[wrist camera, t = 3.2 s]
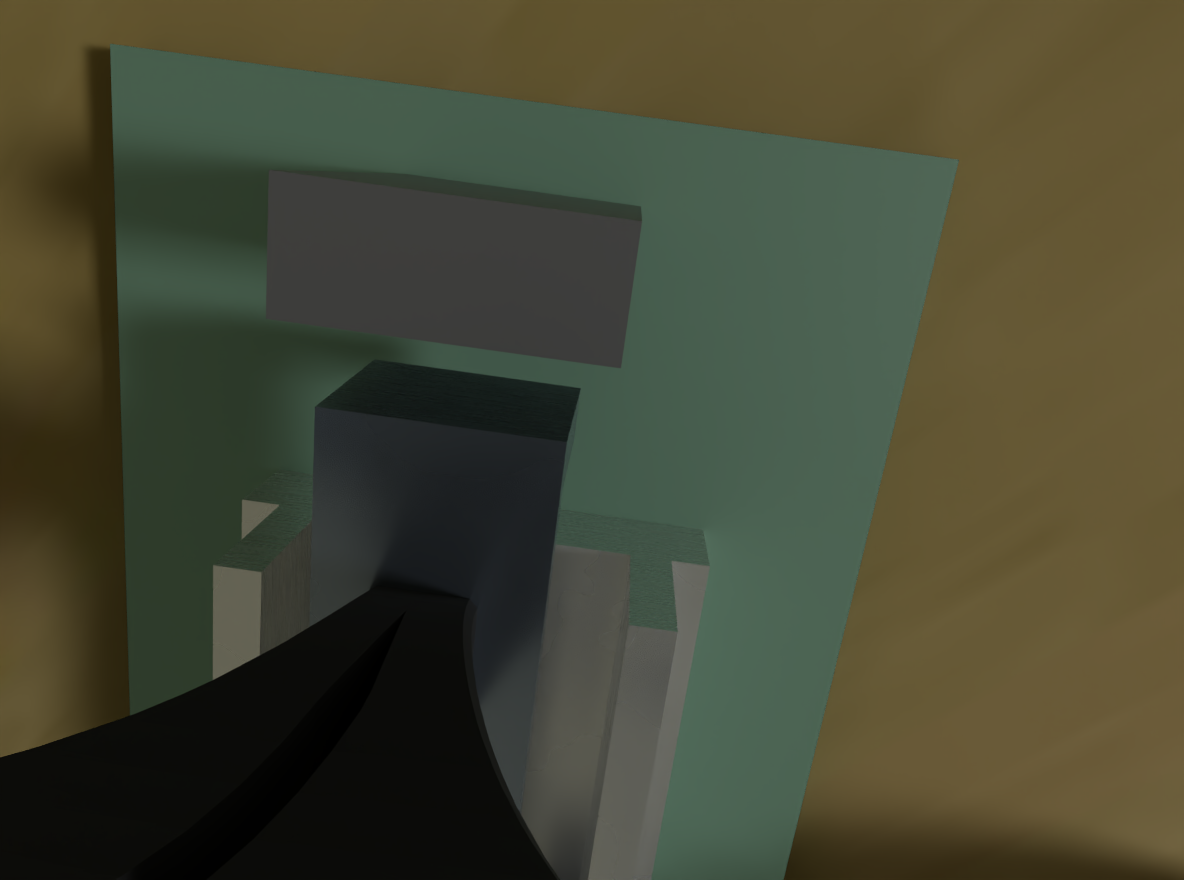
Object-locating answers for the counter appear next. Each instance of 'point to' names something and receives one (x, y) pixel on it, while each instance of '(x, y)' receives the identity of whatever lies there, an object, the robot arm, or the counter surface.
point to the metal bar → (448, 515)
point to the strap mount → (452, 263)
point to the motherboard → (543, 375)
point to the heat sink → (567, 671)
